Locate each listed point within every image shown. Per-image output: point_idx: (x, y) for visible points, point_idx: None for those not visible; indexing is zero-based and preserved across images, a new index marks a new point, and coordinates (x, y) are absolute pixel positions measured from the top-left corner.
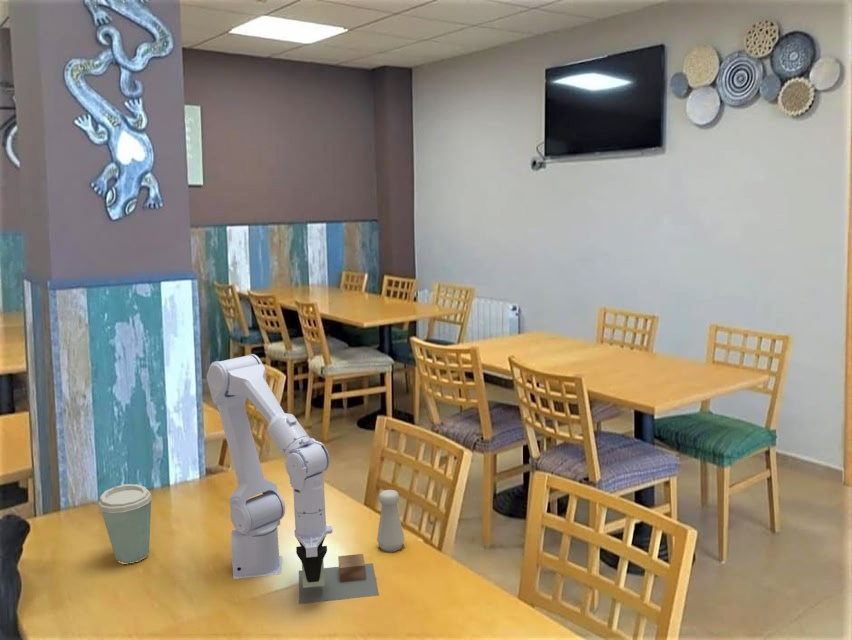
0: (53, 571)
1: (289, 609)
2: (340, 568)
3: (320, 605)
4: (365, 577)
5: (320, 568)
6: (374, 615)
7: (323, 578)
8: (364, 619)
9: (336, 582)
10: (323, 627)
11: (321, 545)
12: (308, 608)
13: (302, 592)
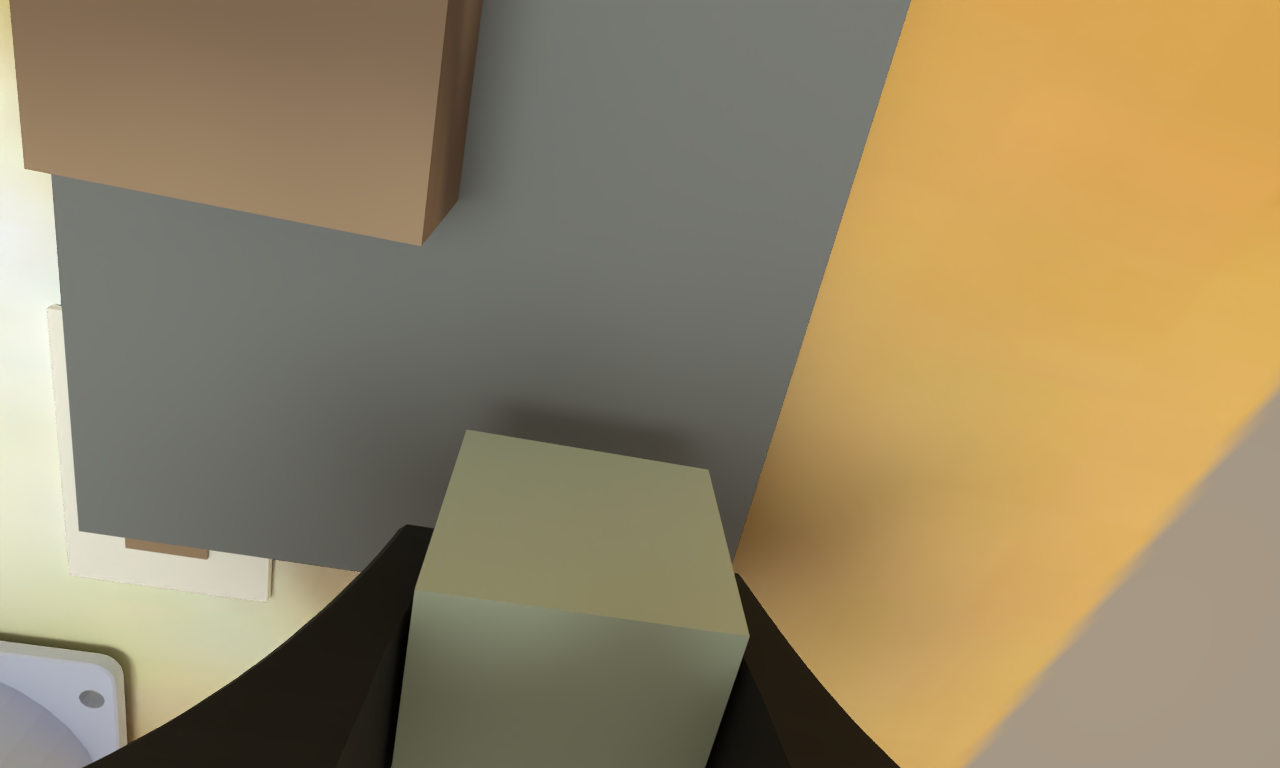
0: None
1: None
2: (425, 230)
3: (768, 453)
4: None
5: (823, 691)
6: (1242, 16)
7: (718, 526)
8: (1236, 142)
9: (449, 240)
10: (1109, 498)
11: (342, 749)
12: (767, 545)
13: None
